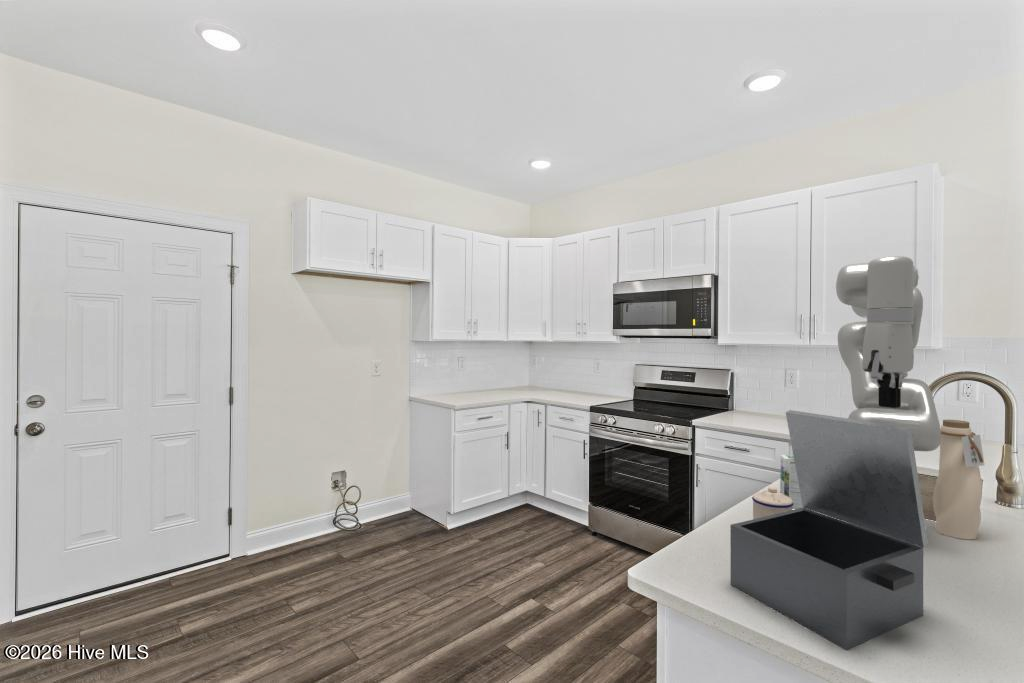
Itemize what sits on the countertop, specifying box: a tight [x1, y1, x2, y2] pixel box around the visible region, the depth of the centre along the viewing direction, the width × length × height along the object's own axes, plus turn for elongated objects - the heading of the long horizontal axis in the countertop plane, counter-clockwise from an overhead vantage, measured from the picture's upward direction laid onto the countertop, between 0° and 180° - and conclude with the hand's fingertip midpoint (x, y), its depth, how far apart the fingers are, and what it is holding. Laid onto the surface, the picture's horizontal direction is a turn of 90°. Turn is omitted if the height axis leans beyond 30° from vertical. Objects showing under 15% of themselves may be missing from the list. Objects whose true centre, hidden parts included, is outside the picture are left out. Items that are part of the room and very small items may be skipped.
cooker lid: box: [785, 409, 929, 549], centre depth 94 cm, size 22×22×4 cm
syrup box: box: [779, 454, 806, 509], centre depth 138 cm, size 6×6×14 cm
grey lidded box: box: [729, 508, 924, 651], centre depth 90 cm, size 22×27×12 cm
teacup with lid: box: [751, 486, 794, 520], centre depth 120 cm, size 12×9×12 cm
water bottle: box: [932, 419, 985, 540], centre depth 118 cm, size 10×9×28 cm
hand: (889, 406), depth 98 cm, fingers closed
